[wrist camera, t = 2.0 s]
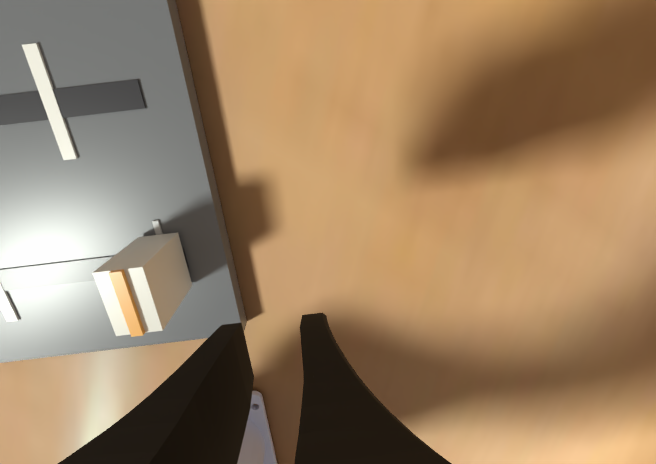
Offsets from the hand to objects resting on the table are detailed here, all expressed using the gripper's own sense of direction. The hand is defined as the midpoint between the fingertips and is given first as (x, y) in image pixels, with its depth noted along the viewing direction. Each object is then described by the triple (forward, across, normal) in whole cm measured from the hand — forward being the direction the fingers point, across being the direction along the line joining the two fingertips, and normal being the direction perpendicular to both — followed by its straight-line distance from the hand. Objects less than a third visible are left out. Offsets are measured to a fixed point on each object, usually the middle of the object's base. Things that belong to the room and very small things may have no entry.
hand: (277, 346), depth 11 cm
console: (+9, +12, -4) cm, 16 cm away
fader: (+8, +7, 0) cm, 10 cm away
